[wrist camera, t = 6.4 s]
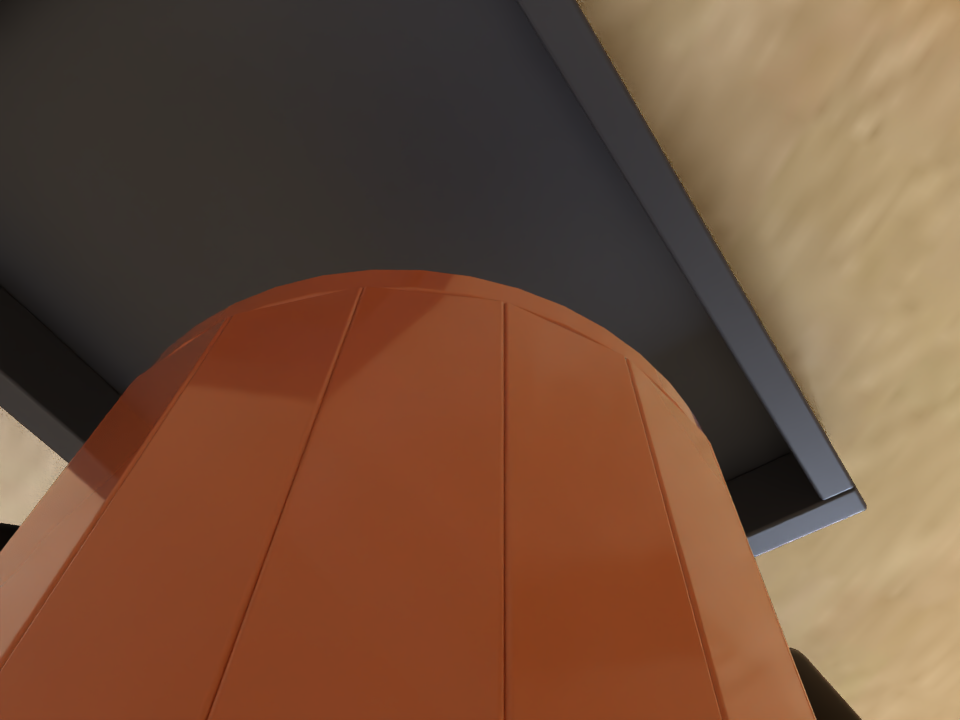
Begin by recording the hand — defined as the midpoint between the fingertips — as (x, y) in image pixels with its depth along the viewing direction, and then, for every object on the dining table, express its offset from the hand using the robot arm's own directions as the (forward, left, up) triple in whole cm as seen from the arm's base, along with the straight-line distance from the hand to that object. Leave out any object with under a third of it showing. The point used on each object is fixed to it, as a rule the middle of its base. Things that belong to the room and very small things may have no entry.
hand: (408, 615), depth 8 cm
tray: (0, +3, -11) cm, 11 cm away
